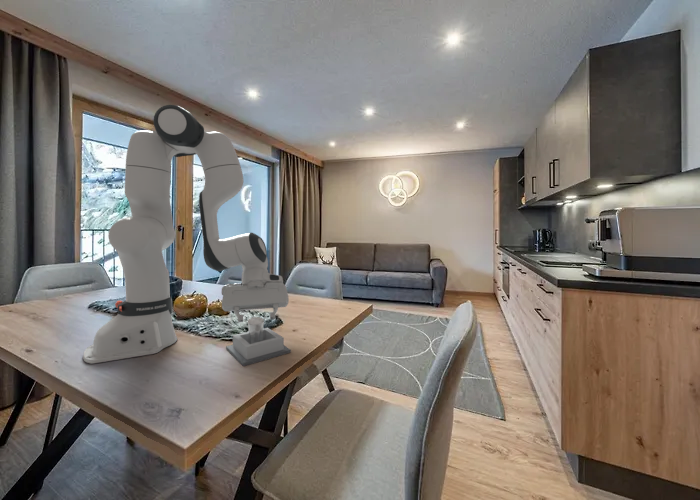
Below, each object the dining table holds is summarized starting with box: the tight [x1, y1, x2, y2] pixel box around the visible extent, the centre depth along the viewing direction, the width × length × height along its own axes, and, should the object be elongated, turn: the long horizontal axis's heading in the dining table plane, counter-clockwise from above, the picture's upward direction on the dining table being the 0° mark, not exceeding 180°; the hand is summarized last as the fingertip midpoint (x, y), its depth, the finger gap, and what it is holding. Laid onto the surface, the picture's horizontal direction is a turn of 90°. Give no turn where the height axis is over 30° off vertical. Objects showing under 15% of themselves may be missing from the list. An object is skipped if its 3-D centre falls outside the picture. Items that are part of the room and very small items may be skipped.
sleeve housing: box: [225, 327, 292, 367], centre depth 87 cm, size 14×14×4 cm
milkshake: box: [247, 316, 266, 344], centre depth 87 cm, size 4×5×10 cm
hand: (256, 320), depth 90 cm, fingers open, 8 cm apart
